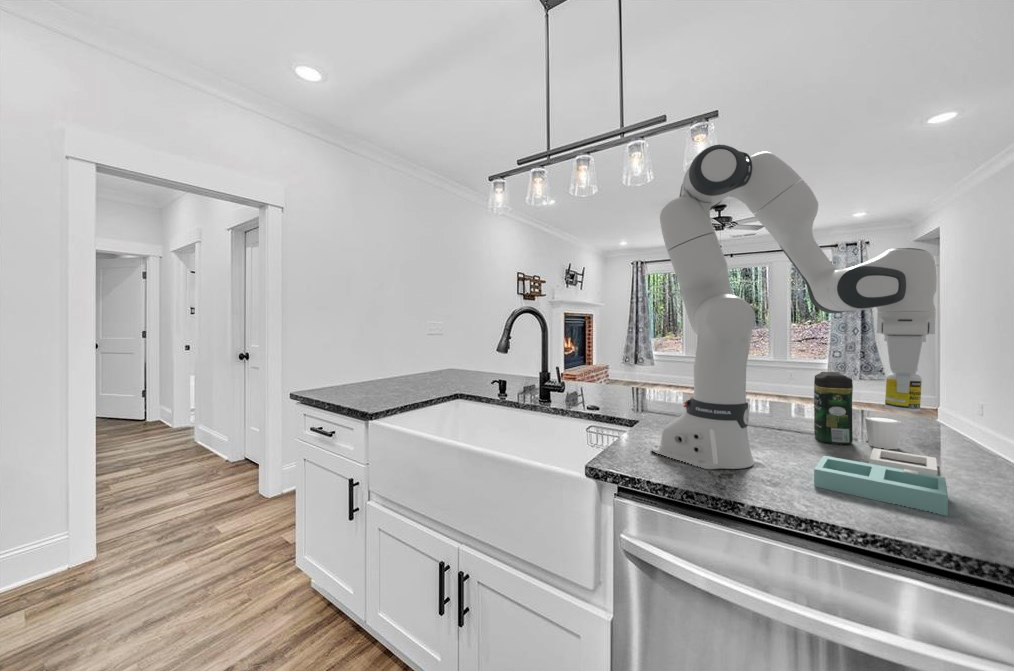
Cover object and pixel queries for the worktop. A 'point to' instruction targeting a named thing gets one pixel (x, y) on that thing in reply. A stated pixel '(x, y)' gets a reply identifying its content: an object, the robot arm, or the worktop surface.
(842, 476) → the block
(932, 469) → the white shallow tray
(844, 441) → the coffee jar
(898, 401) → the supplement bottle
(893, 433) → the white round container
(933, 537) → the worktop surface
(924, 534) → the worktop surface
